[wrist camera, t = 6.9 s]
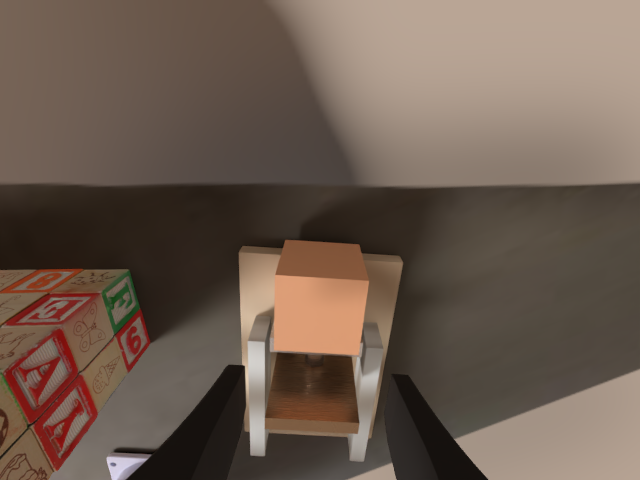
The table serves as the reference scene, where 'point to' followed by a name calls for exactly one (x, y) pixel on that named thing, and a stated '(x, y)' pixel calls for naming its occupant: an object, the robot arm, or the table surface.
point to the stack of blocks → (61, 360)
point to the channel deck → (260, 362)
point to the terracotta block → (320, 297)
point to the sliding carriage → (312, 392)
